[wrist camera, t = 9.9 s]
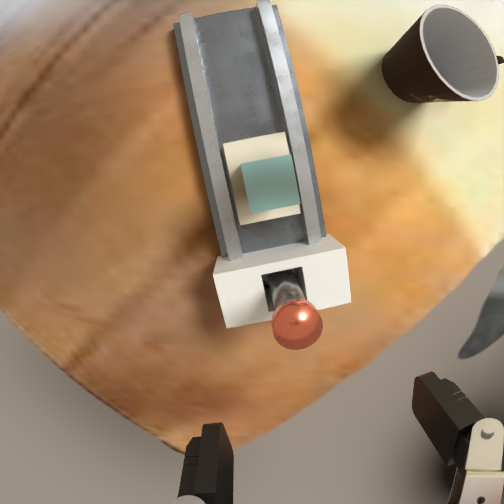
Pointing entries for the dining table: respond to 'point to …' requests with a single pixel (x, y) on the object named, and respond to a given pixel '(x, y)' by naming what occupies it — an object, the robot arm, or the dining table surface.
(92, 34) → the dining table surface
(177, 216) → the dining table surface
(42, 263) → the dining table surface
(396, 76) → the coffee mug
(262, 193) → the carriage
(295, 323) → the gauge plunger
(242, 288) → the end cabinet
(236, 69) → the rail bed
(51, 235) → the dining table surface
